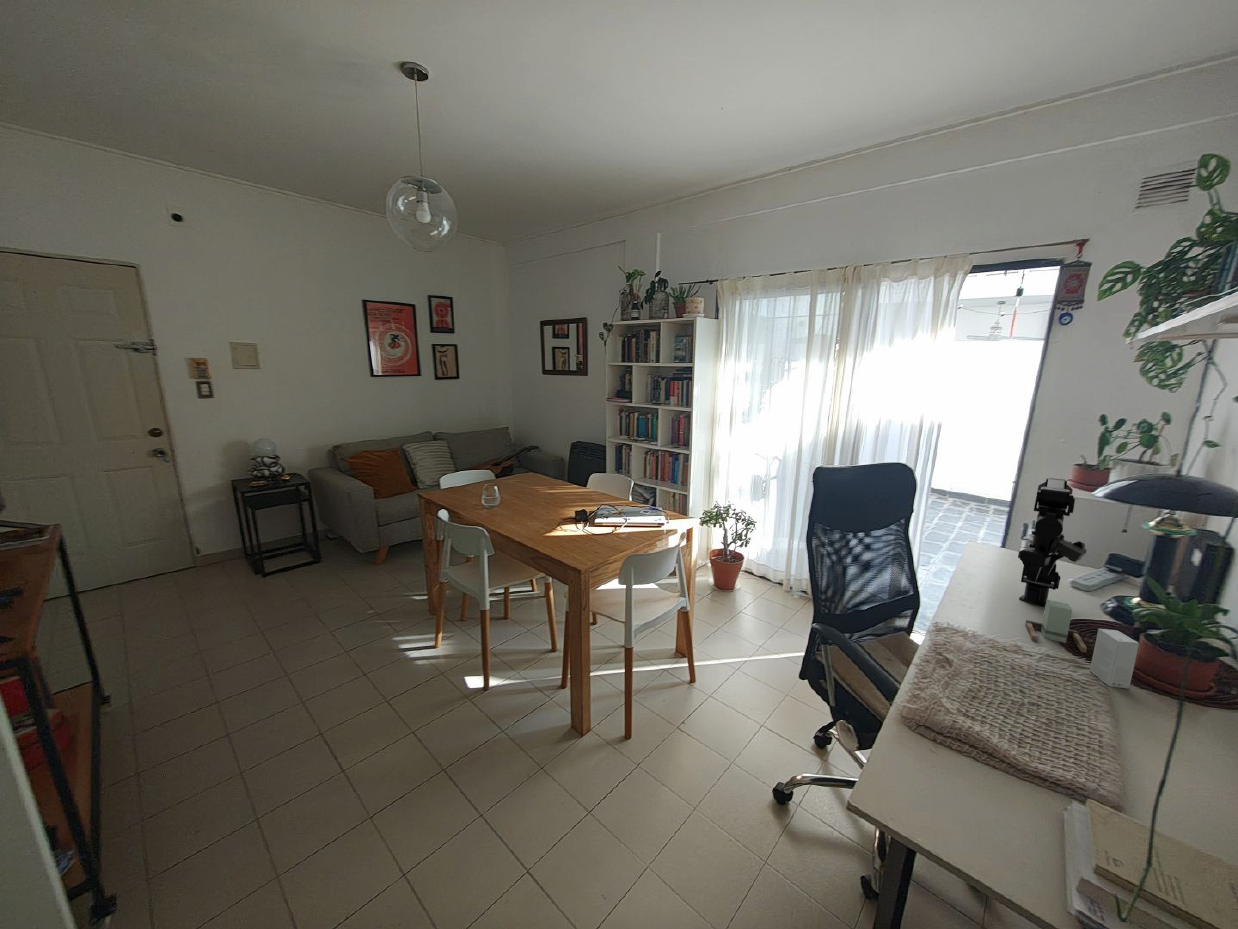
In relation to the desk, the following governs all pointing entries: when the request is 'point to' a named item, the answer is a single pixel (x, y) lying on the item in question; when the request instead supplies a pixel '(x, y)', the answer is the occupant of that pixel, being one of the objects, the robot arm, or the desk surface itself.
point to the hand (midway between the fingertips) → (1039, 578)
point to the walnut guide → (1071, 633)
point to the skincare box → (1114, 658)
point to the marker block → (1056, 621)
